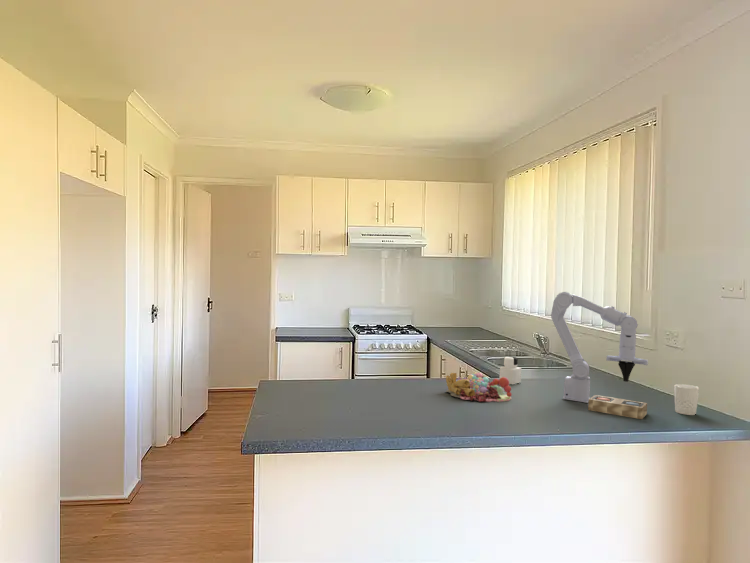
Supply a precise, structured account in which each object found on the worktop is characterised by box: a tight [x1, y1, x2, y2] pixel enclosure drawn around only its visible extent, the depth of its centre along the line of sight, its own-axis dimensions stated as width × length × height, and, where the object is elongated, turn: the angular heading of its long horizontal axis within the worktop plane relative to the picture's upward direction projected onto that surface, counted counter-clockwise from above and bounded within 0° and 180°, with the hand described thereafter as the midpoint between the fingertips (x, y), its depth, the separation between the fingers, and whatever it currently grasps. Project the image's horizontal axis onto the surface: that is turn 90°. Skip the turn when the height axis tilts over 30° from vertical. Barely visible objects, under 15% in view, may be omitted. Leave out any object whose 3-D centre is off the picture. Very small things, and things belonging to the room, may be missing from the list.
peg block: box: [587, 394, 648, 420], centre depth 191 cm, size 18×10×4 cm, turn 54°
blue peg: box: [626, 402, 639, 406], centre depth 188 cm, size 4×4×4 cm
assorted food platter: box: [445, 371, 513, 403], centre depth 210 cm, size 25×24×9 cm
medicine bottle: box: [498, 355, 522, 385], centre depth 238 cm, size 7×7×12 cm
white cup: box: [673, 383, 700, 416], centre depth 194 cm, size 8×8×10 cm
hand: (625, 381), depth 202 cm, fingers closed
